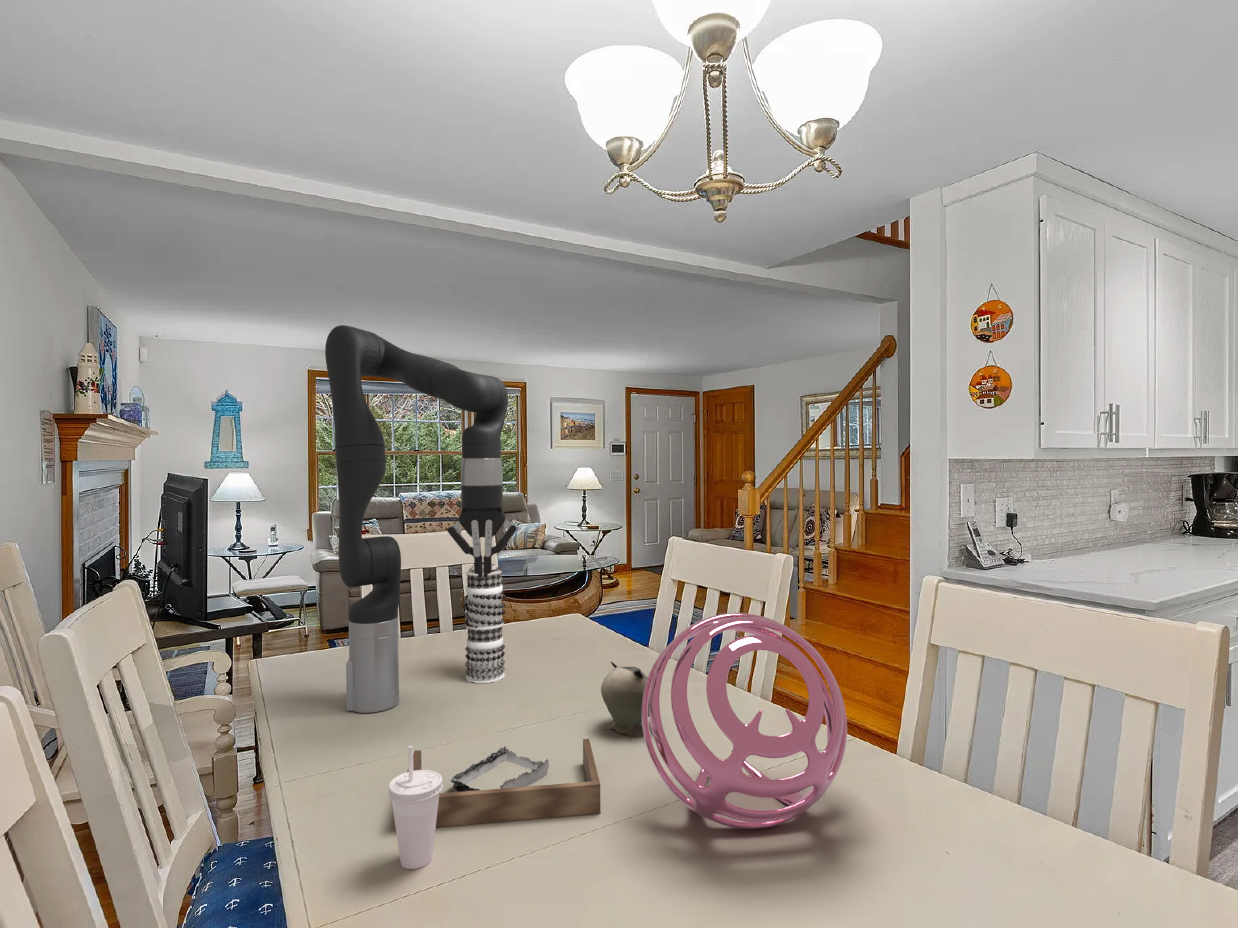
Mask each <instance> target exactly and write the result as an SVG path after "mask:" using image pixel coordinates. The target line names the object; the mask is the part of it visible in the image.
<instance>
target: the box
mask: <svg viewBox="0 0 1238 928" xmlns="http://www.w3.org/2000/svg"><path fill="white" fill-rule="evenodd" d="M582 764H583V765H582V766H583V771H584V775H585V779H586V780H585V781H581V782H570V783H569V782H568V783H555V784H554V783H553V784H543V785H531V786H530V785H527V786H525V787H515V788H502V789H501V788H491V789H480V790H477V791H464V792H455V791H453V792H451V791H450V792H444V793H443V792H441V793H440V792H439V803H438V811H437V819H436V828H442V827H454V826H467V825H476V824H477V825H478V823H480V824H490V823H502V822H513V821H523V820H535V819H548V818H558V817H560V818H562V817H570V816H581V815H583V816H584V815H592V814H601V782H600V777H599V774H598V770H597V766H596V760H595V757H594V753H593V750H592V745H591V742H590V738H583V739H582ZM415 770H423V768H422V750H421V749H420V750H413V771H415ZM406 771H407V772H409V767H408V768H407V770H406Z"/></svg>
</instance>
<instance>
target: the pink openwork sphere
mask: <svg viewBox="0 0 1238 928" xmlns="http://www.w3.org/2000/svg"><path fill="white" fill-rule="evenodd" d="M725 631H737V632H743V633H747V634H751V635H744V636H742V637H739V638H736V639H734V640H732V641H730V642H728V643H727V644H726V645H725V646H724V647H722V648H721V649H720V650H719V651H718V652H717V654H716V655H715V657H714V658H713V659H712V662H711V664H710V666H709V669H708V672H707V678H706V687H705V688H706V699H707V703H708V707H709V711H710V712H711V715H712V717H713V719H714V721H715V723H716V725H717V727H719V729H720V731H721V732H722V733H723V734H724V736H725V737H726V738H727V739H728V740H729V741H730V742H731V743H732V744H731V745H732V747H733V748H732V750H731V753H730V755H729V756H728V757H727V758H725V759H720V758H718V757H717V756H716V754H714V753H713V751H712V750H711V749H709V747H708V746H707V745H706V743H705V741H704V740H703V739H702V738H701V736H700V734H699V733H698V731H697V729H696V727H695V724H694V721H693V719H692V716H691V715H692V714H691V712H690V709H689V708H690V707H689V702H688V681H689V677H690V671H691V668H692V666H693V663H694V661H695V659H696V657H697V655H698V654H699V652H700V651H701V650H702V648H703V647H704V646H705V645H706V644H707V643H708V642H709V641H711V640H712V639H713V638H714V637H716V636H717V635H719V634H721V633H723V632H725ZM774 631H775V632H774ZM776 632H777V633H776ZM778 633H779V634H778ZM780 634H782V635H784V636H786V637H787V638H789V639H791V640H792V641H794V642H795V643H796V644H798V645H799V646H800V647H801V648H803V650H805V652H807V653H808V654H809V656H810V657H811V658H812V659H813V661H815V663H816V665H817V666H818V668H819V669H820V670H821V673H822V674H823V676H824V678H825V680H826V683H827V685H828V688H827V686H826V683H825V682H824V680H823V678H822V676H821V674H820V673H819V672H818V670H817V669H816V666H814V665H813V663H812V662H811V661H810V659H808V657H807V656H806V654H804V653H803V652H802V651H801V650H800V649H799V648H798V647H797V646H796V645H794V644H793V642H792V643H791V642H790V641H789V640H787V639H786V638H785V637H784V636H782V635H780ZM690 639H691V640H690ZM689 640H690V641H689ZM687 641H688V643H687V644H686V646H685V648H684V649H683V650H682V651H681V653H680V656H679V657H678V659H677V662H676V665H675V667H674V671H673V675H672V680H671V688H670V690H671V691H670V699H671V700H670V701H671V703H670V704H671V712H672V716H673V720H674V723H675V727H676V730H677V732H678V734H679V737H680V739H681V741H682V743H683V745H684V747H685V749H686V750H687V751H688V753H689V754H690V756H691V757H692V758H693V760H694V761H695V762H696V763H697V765H699V766H700V767H699V768H701V769H700V771H699V773H698V775H697V777H696V778H695V780H694V779H693V778H692V777H691V776H690V775H689V774H688V773H687V772H686V771H685V769H684V768H683V766H682V765H681V763H680V762H679V761H678V759H677V757H676V756H675V754H674V752H673V751H672V748H671V746H670V744H669V742H668V739H667V736H666V734H665V730H664V725H663V722H662V717H661V707H660V696H661V695H660V694H661V686H662V682H663V681H662V680H663V677H664V673H665V670H666V668H667V665H668V663H669V661H670V659H671V658H672V655H673V654H674V653H675V650H676V649H677V648H678V647H679V646H680V645H681V644H683V643H685V642H687ZM755 651H768V652H772V653H775V654H777V655H780V656H782V657H783V658H785V659H786V660H788V661H790V663H792V664H793V666H795V668H796V669H797V670H798V671H799V673H800V674H801V676H802V678H803V680H804V683H805V685H806V688H807V693H808V706H807V710H806V711H807V712H806V714H805V716H804V718H803V720H800V719H799V718H798V717H797V716H796V715H795V714H794V713H793V712H792V711H791V710H790V709H789V708H785V713H786V715H787V718H788V720H789V722H790V725H791V728H792V729H791V731H790V732H788V733H785V734H781V735H775V736H773V735H768V734H767V735H766V734H763V733H761V732H760V730H759V728H760V727H759V726H760V722H761V718H762V714H763V710H762V709H761V710H760V709H759V710H758V712H757V713H756V715H755V716H754V717H753V718H752V720H751V721H750V722H749V723H747V724H745V723H744V722H742V721H741V720H740V719H739V717H738V715H736V713H735V712H734V710H733V708H732V706H731V704H730V701H729V700H730V699H729V698H728V693H727V692H728V691H727V681H728V676H729V673H730V670H731V668H732V667H733V665H734V664H735V663H736V662H737V660H738V659H740V658H741V657H742V656H744V655H746V654H748V653H751V652H755ZM647 677H648V678H647V681H646V684H645V688H644V693H643V699H642V712H641V715H642V723H641V724H642V728H643V739H644V743H645V746H646V749H647V753H648V755H649V758H650V760H651V762H652V764H653V766H654V768H655V770H656V772H657V773H658V775H659V777H660V779H661V780H662V781H663V783H664V784H665V786H666V787H667V788H668V789H669V790H670V792H671V793H672V794H673V795H674V796H675V797H676V798H677V799H678V800H679V801H680V802H681V803H683V805H685V806H686V808H688V809H690V810H691V811H692V812H693V813H695V814H696V815H698V816H700V817H702V818H703V819H704V818H705V819H707V820H708V821H710V822H713V823H716V824H719V825H720V826H721V825H722V826H725V827H729V828H734V829H739V830H740V829H742V830H760V829H761V830H762V829H767V828H772V827H776V826H778V825H782V824H785V823H786V822H789V821H791V820H793V819H795V818H796V817H798V816H800V815H801V814H803V813H804V812H805V811H807V810H809V809H810V808H812V807H813V806H815V805H816V804H817V803H818V802H819V801H820V800H821V799H822V798H823V797H824V796H825V794H826V792H827V791H828V790H829V788H830V787H831V785H832V784H833V782H834V780H835V779H836V777H837V775H838V773H839V771H840V768H841V766H842V763H843V760H844V756H845V754H846V753H845V751H846V746H847V737H848V721H847V712H846V707H845V702H844V698H843V695H842V692H841V690H840V686H839V684H838V681H837V680H836V677H835V675H834V674H833V672H832V671H831V668H830V667H829V665H828V664H827V663H826V661H825V659H824V658H823V657H822V656H821V654H820V653H819V652H818V650H817V649H816V648H814V646H813V645H812V644H811V643H810V642H809V641H808V640H807V639H805V638H804V637H803V636H801V635H800V634H799V633H798V632H796V631H794V630H793V629H791V628H790V627H788V626H787V625H785V624H783V623H781V622H779V621H776V620H773V618H772V619H771V618H769V617H765V616H761V615H758V614H752V613H747V612H746V613H744V612H729V613H720V614H716V615H712V616H709V617H706V618H703V619H700V620H698V621H696V622H694V623H692V624H691V625H689V626H687V627H686V628H685V629H683V630H682V631H681V632H680V633H679V634H678V635H677V636H675V637H674V639H673V640H672V641H671V642H670V643H669V644H668V645H667V646H666V647H665V648H664V649H663V650H662V652H661V653H660V654H659V655H658V657H657V658H656V660H655V661H654V663H653V665H652V666H651V669H650V672H649V674H648V676H647ZM828 689H829V690H828ZM829 692H830V693H829ZM648 703H649V717H648ZM824 718H825V725H826V746H825V748H824V749H823V751H822V752H820V751H819V749H818V746H817V745H816V744H817V743H816V739H817V734H819V731H820V729H821V726H822V723H823V720H824ZM649 724H650V725H649ZM650 728H651V729H650ZM650 730H651V731H650ZM651 732H652V734H651ZM652 736H653V739H654V742H655V746H656V749H657V751H658V753H659V755H660V757H661V758H662V761H663V763H664V764H665V766H666V768H667V770H668V771H669V772H670V774H671V775H672V776H673V778H674V779H675V781H677V782H678V784H679V785H680V787H682V788H683V789H684V791H686V792H687V793H688V794H689V796H687V795H686V794H685V793H684V792H683V791H682V790H681V789H680V788H679V787H678V786H677V785H676V784H675V782H674V781H673V780H672V779H671V776H669V774H668V773H667V771H666V770H665V768H664V766H663V765H662V763H661V761H660V759H659V756H658V754H657V752H656V749H655V746H654V743H653V741H652V740H653V739H652ZM801 752H803V753H804V754H805V756H806V758H807V765H806V767H805V768H804V770H803V771H801V772H799V773H797V774H794V775H791V776H788V777H784V778H778V779H771V778H770V777H769V776H767V775H766V774H764V773H762V772H761V771H760V770H758V769H757V768H756V767H755V766H753V765H752V764H751V763H749V762H748V761H747V760H746V759H747V758H748V757H750V756H756V757H761V758H767V759H781V758H787V757H790V756H793V755H795V754H797V753H801ZM742 768H743V769H744V771H746V773H748V774H749V775H747V774H745V773H744V771H743V769H742ZM708 777H709V779H710V783H709V784H708V785H707V786H706V784H707V781H708ZM809 787H812V788H811V789H810V790H809V791H807V792H803V793H802V792H801V791H804V790H806V789H807V788H809ZM730 793H738V794H743V795H746V796H750V797H756V798H760V799H761V798H763V799H777V800H779V801H780V802H782V803H783V804H785V805H786V806H785V807H780V808H776V809H749V808H744V807H741V806H737V805H734V804H732V803H729V802H728V801H727V800H726V798H727V795H729V794H730Z"/></svg>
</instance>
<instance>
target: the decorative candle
mask: <svg viewBox="0 0 1238 928" xmlns="http://www.w3.org/2000/svg"><path fill="white" fill-rule="evenodd" d="M502 573H503V570H501V569H500V568H499V566H498V565H497V564H493V563H492V570H491V573H490V574H488V577H484V568H483V576H482V577H478V574H475V572H474V564H473V565H472V566H470V567H469V569H468V571H466V572H465V574H466V576H467V578H466V583H467V585H466V587H465V590H466V591H465V593H466V595H465V596H464V598H463V602H464V605H463V609H464V610H465V611H466V612H465V614H464V618H465V621H464V626H465V628H466V629H467V639H466V647H465V649H464V650H465V652H466V654H465V658H466V659H467V660H466V662H465V663H464V664H465V667H466V669H465V674H466V676H465V680H466V679H467V680H466V681H467V682H468V683H471V682H474V683H473V684H476V683H487V684H491V683H490V682H494V683H496V682H500V681H501V679H502V678H503V679H504V678H505V675H506V674H505V670H506V667H505V666H504V665H505V663H506V660H505V659H504V658H503V657H504V656H505V654H506V652H504V649H505V646H506V645H504V636H503V627H504V624H505V619H504V618H502V616H503V615H504V614H506V611H505V610H504V609H503V608H505V607H506V604H505V603H503V602H502V600H504V599H505V598H506V594H504V592H505V591H506V589H505V588H504V587H503V584H502V583H503V582H502V581H503V580H502V578H503V577H502ZM503 679H502V680H503Z"/></svg>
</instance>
